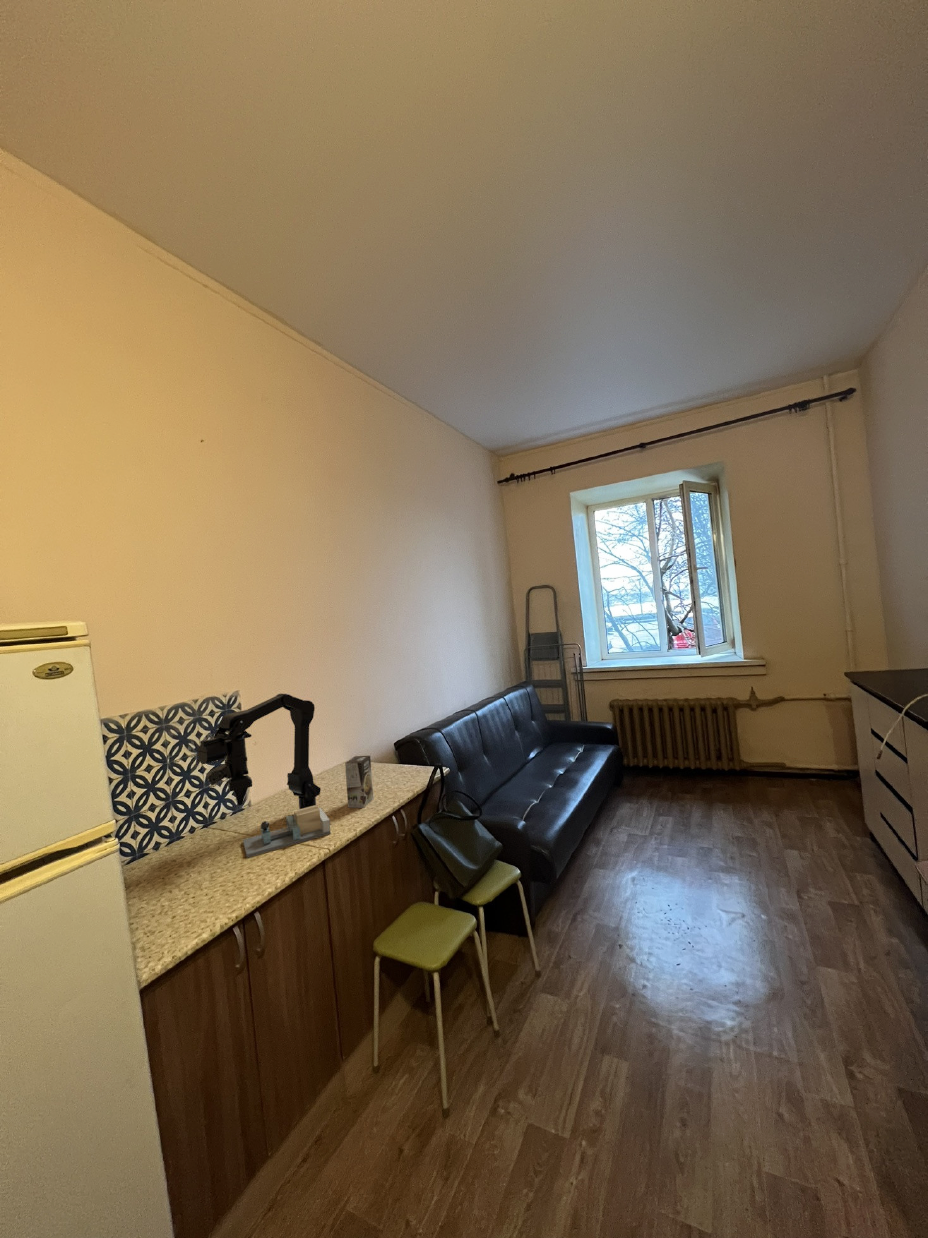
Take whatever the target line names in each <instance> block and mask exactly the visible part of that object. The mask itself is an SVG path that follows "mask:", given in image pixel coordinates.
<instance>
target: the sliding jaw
mask: <svg viewBox="0 0 928 1238" xmlns="http://www.w3.org/2000/svg"><path fill="white" fill-rule="evenodd" d="M285 821H286V824H285V825H286V828H288V829H285V830H281V831H277V832H274V833H270V832H271V831H270V828H269V827H270V823H269V821H266V820H265V821H263V822H261V824H260V835H261V838H262V840H263V843H264V844H267V843H271V840H272V839H276V838H279V837H283V836H286V835H290V834H291V836H292V838H293V840H296V839H299V838H301V837H300V827H299V826H298V824H297V822H296V820H295V819H294V814H292V815H288V816H285Z"/></svg>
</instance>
